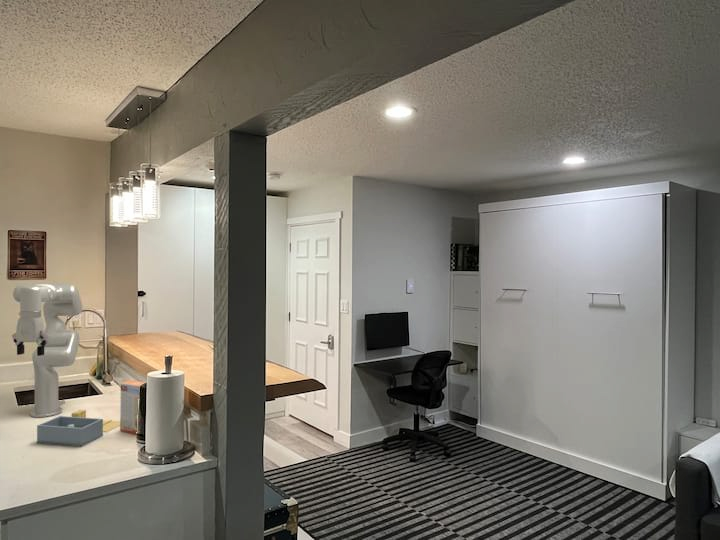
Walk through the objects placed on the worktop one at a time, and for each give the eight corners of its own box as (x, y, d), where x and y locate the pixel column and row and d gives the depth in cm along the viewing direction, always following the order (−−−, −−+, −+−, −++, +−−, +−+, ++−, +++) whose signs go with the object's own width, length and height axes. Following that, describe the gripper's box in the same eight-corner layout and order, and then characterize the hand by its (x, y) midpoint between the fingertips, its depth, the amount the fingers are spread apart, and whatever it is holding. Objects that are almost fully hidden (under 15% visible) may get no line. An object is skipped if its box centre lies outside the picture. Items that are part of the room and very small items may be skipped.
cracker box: (154, 431, 206) (154, 383, 206) (142, 436, 201) (143, 386, 200) (131, 426, 212) (131, 379, 212) (119, 431, 207) (119, 382, 206)
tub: (37, 442, 192) (37, 425, 192) (59, 432, 204) (60, 416, 204) (82, 446, 189) (82, 428, 189) (102, 435, 201) (102, 418, 201)
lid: (63, 430, 208) (63, 415, 208) (84, 420, 220) (84, 407, 220) (106, 433, 205) (106, 418, 205) (125, 423, 218) (125, 409, 217)
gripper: (5, 315, 204) (5, 355, 204) (41, 316, 201) (41, 357, 202) (20, 313, 211) (20, 352, 212) (55, 314, 209) (55, 354, 209)
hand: (30, 354), depth 207 cm, fingers open, 9 cm apart
